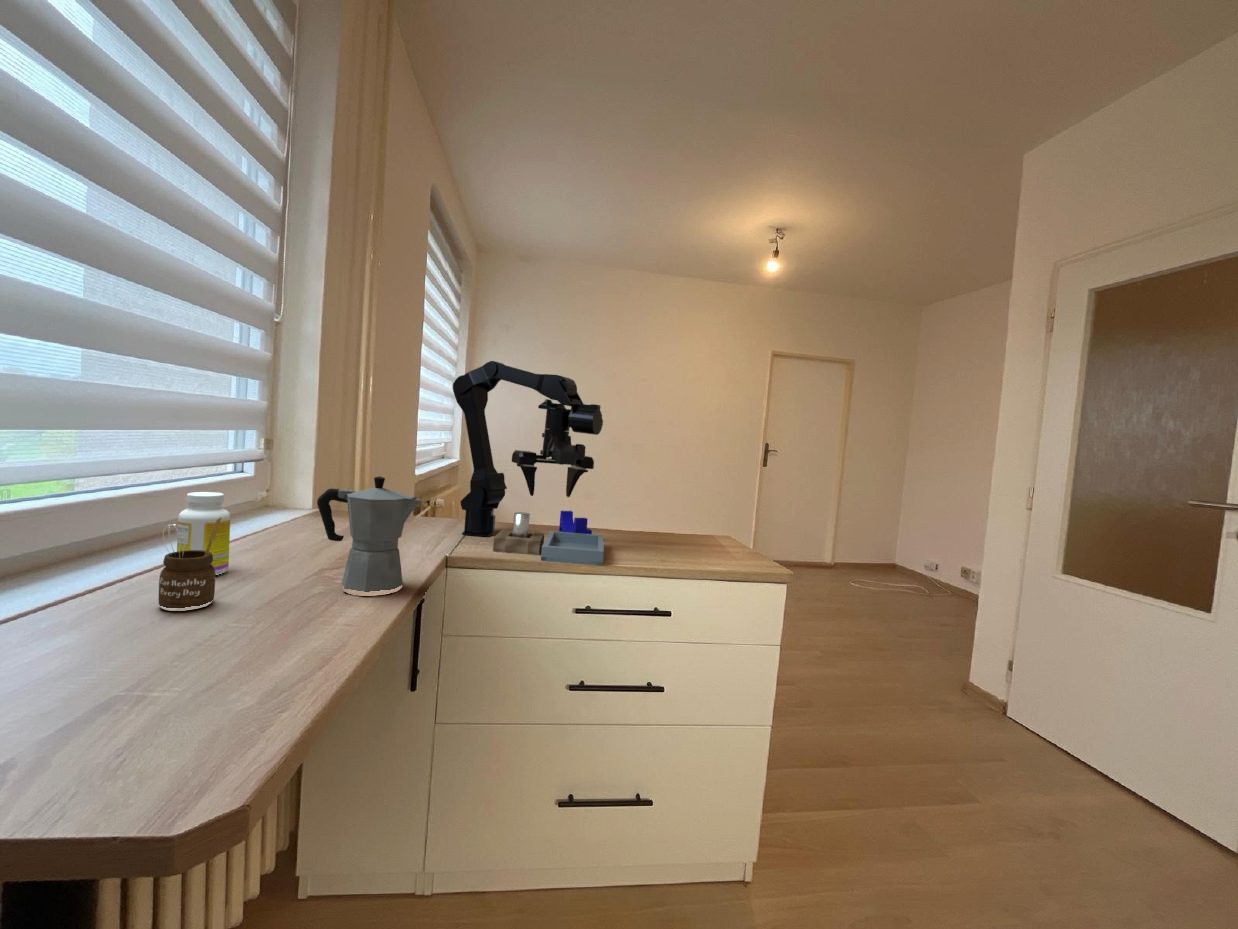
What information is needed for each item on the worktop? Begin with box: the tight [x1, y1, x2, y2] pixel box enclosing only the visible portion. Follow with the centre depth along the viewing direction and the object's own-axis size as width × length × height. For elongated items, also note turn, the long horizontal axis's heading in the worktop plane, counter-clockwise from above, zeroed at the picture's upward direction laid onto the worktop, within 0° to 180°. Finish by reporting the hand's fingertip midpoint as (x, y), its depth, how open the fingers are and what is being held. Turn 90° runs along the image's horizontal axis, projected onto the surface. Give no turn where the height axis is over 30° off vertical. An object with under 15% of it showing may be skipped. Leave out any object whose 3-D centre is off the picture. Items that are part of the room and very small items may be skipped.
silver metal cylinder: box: [512, 511, 531, 538], centre depth 125 cm, size 4×4×8 cm
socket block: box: [492, 529, 545, 556], centre depth 125 cm, size 10×10×3 cm
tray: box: [540, 530, 605, 566], centre depth 124 cm, size 13×18×3 cm
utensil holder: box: [158, 517, 222, 608], centre depth 73 cm, size 6×6×12 cm
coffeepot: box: [316, 476, 423, 592], centre depth 87 cm, size 15×9×18 cm, turn 101°
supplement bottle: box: [176, 491, 231, 575], centre depth 87 cm, size 7×7×13 cm
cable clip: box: [558, 510, 593, 534], centre depth 144 cm, size 12×4×6 cm, turn 25°
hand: (550, 496), depth 129 cm, fingers open, 9 cm apart
